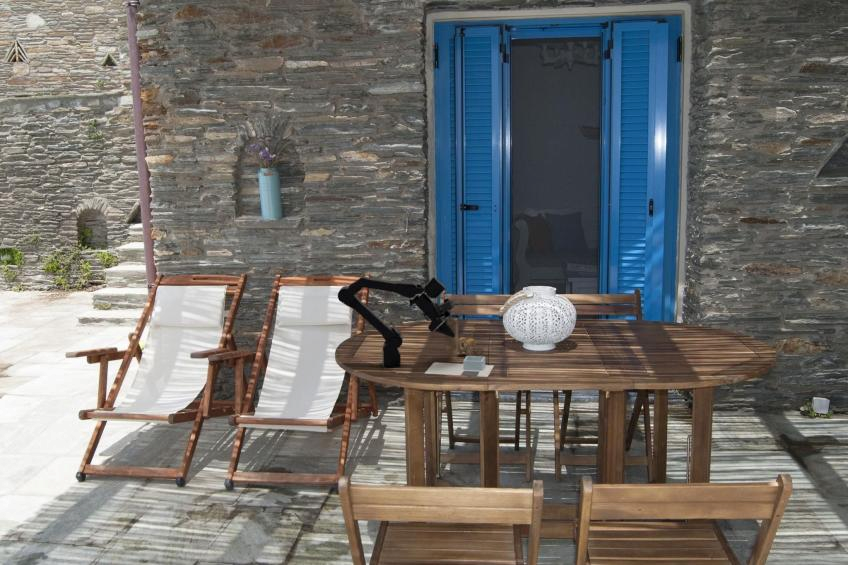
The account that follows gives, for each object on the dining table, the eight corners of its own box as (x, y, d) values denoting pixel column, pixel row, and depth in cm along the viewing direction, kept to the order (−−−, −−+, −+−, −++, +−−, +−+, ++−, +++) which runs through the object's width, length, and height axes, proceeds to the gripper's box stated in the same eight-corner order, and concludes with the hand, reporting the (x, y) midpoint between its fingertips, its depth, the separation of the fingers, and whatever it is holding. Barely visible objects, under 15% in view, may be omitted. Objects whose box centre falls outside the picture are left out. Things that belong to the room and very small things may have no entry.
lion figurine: (466, 361, 316) (466, 339, 314) (454, 359, 318) (454, 338, 317) (480, 352, 329) (480, 331, 327) (468, 351, 331) (468, 330, 330)
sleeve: (463, 369, 299) (463, 360, 299) (467, 364, 306) (466, 355, 306) (482, 370, 298) (482, 361, 297) (485, 365, 304) (485, 356, 304)
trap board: (424, 375, 295) (424, 373, 295) (434, 364, 310) (434, 362, 310) (487, 379, 289) (487, 376, 289) (494, 367, 305) (494, 365, 305)
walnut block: (446, 352, 305) (445, 319, 303) (448, 350, 309) (447, 317, 307) (456, 352, 304) (455, 320, 302) (458, 350, 308) (457, 318, 306)
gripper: (436, 297, 295) (465, 327, 294) (446, 288, 312) (474, 317, 312) (416, 316, 298) (444, 346, 297) (427, 307, 316) (454, 335, 315)
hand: (455, 335), depth 305 cm, fingers closed on walnut block, 4 cm apart
